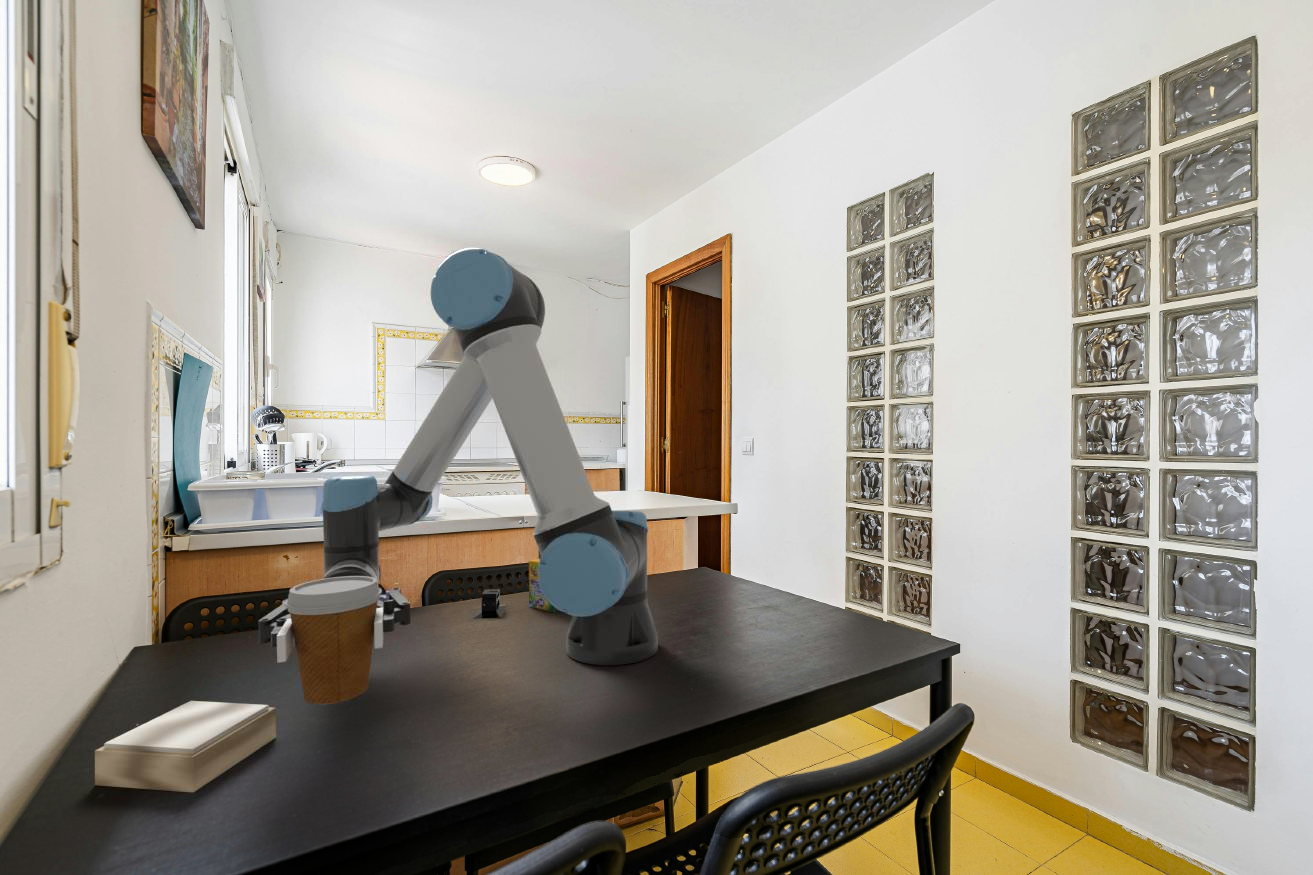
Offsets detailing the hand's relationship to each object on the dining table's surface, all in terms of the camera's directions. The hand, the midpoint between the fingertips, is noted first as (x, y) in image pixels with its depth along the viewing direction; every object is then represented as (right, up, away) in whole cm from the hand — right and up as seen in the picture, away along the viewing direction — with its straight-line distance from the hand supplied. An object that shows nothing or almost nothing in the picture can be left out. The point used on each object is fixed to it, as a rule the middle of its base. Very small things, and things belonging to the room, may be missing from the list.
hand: (331, 641), depth 63 cm
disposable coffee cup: (-2, -7, +4) cm, 9 cm away
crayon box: (+11, -14, +61) cm, 64 cm away
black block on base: (0, -15, +59) cm, 61 cm away
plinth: (-17, -14, +3) cm, 22 cm away
